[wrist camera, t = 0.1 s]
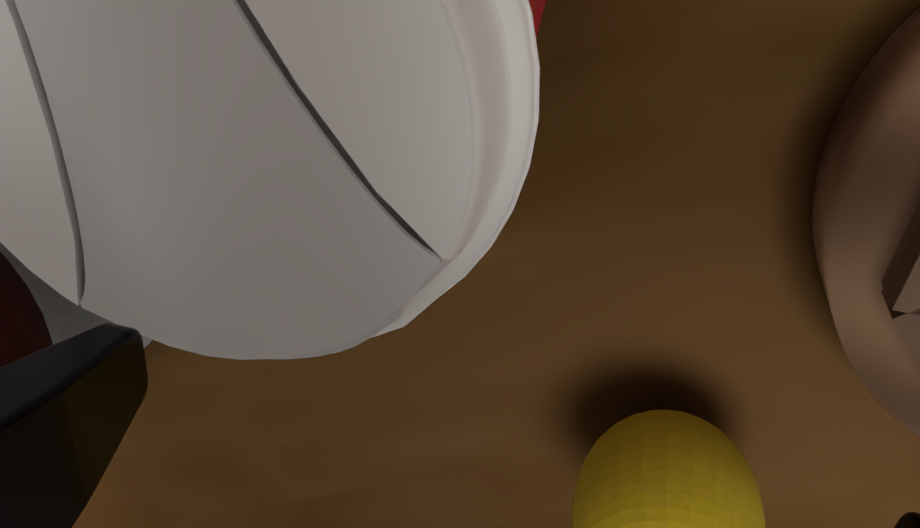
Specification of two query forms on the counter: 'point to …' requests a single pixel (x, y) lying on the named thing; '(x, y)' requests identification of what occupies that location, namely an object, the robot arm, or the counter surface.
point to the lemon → (666, 477)
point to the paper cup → (262, 160)
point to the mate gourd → (36, 312)
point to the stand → (876, 223)
